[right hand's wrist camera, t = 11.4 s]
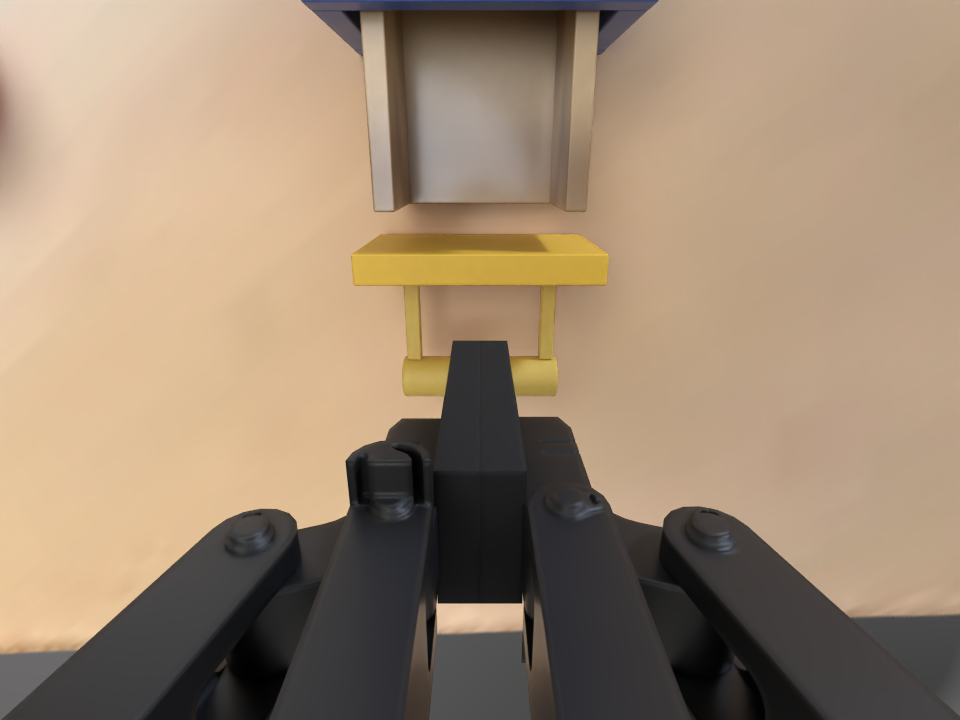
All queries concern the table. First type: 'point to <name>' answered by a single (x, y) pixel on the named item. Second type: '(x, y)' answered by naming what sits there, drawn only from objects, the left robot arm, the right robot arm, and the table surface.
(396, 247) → the drawer
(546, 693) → the right robot arm
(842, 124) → the table surface
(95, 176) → the table surface
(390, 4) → the cabinet
